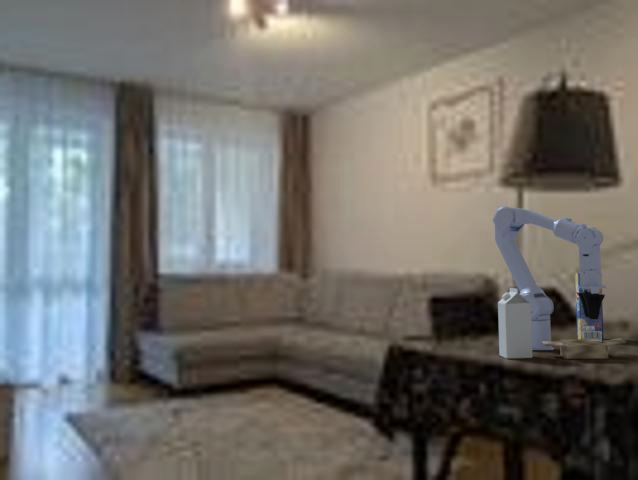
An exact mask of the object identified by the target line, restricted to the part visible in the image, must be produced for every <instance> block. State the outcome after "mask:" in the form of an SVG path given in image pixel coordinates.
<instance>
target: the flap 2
mask: <svg viewBox="0 0 638 480" xmlns="http://www.w3.org/2000/svg"><path fill="white" fill-rule="evenodd" d="M602 343H610V345H609V346H612V345H621V344H627V341H626V340H624V339H622V338H620V337H619V338H612V339H607V340H606V339H604V341H603V342H602Z"/></svg>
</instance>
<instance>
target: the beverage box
mask: <svg viewBox="0 0 638 480" xmlns="http://www.w3.org/2000/svg"><path fill="white" fill-rule="evenodd" d="M574 276H575V305H576V306H575V309H576V335H577V337H576V338H577V339H597V340H599V341H600V342H602V343H604V342H603V341H605V339H604V315H603V314H604V313H603V302H602V303H601V307H600V313H599V318H598V319H590V318H589V317H585V314H584V310H583V305H582V302H581V299H580V297H579V296H578V293H583V292H584V291H583V289H580V288H579V286H580V272H575V275H574ZM602 277H603V276H601V285H603V284H602V283H603V282H602V281H603V280H602ZM599 294H603V288H601V289H599Z"/></svg>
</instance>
